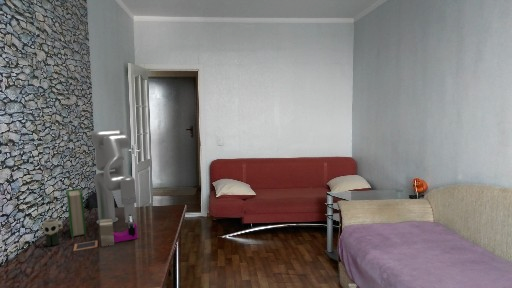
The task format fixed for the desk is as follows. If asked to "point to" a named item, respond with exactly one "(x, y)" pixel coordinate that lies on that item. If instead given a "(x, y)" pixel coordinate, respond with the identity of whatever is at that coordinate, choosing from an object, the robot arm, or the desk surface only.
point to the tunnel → (106, 232)
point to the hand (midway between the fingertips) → (131, 232)
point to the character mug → (51, 231)
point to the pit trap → (85, 245)
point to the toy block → (125, 235)
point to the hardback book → (76, 212)
